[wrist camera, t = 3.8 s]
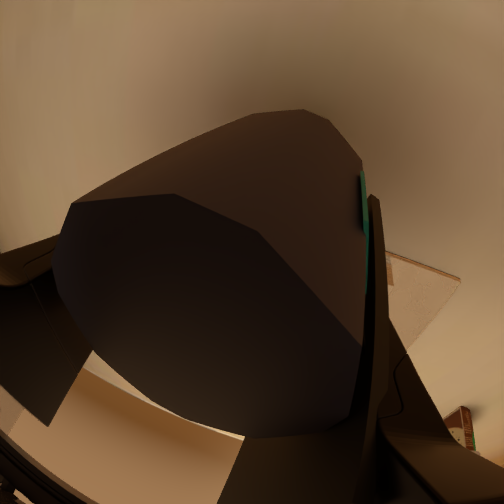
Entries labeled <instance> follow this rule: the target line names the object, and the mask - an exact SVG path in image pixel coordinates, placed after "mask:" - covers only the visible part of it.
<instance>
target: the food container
mask: <svg viewBox="0 0 504 504" xmlns="http://www.w3.org/2000/svg"><path fill="white" fill-rule="evenodd" d="M443 420H444V422H445V424H446V426H447V428H448V430H449V431H450V433H451V434H452V436H453V437H454V438H455V440H456V441H457V442H458V443H460V444H461V445H462V446H464V447H465V448H467V449H469V450H471V451H472V452H474V453H476V454H478V455H480V452H478V451H476V447H475V439H474V432H473V425H472V419H471V413H470V410H469V409H468V408H467V407H463V406H460V407H459V408H457V409H456V410H454V411H453V412H452V413H450V414H449V415H447V416H446V417H444V418H443Z"/></svg>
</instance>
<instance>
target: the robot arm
mask: <svg viewBox="0 0 504 504" xmlns="http://www.w3.org/2000/svg"><path fill="white" fill-rule="evenodd" d="M59 235H60V234H58V235H55V236H52V237H50V238H47V239H44V240H41V241H38V242H35V243H32V244H29V245H26V246H23V247H20V248H17V249H14V250H11V251H8V252H5V253H2V254H0V504H25V503H24V502H22V501H21V500H19V499H18V498H17V497H16V496H15V495H14V494H13V493H14V491H15V489H17V490H18V491H20V492H21V493H22V494H23V495H24V496H26V497H27V498H28V499H29V500H30V501H31V502H32V503H34V504H98V503H97V502H95V501H93V500H91V499H90V498H88V497H87V496H85V495H84V494H82V493H80V492H79V491H77V490H76V489H74V488H73V487H71V486H70V485H68V484H67V483H65V482H64V481H62V480H61V479H60V478H58V477H57V476H56V475H54V474H53V473H52V472H50V471H49V470H47V469H46V468H45V467H44V466H42V465H41V464H40V463H39V462H37V461H36V460H35V459H34V458H32V457H31V456H30V455H29V454H28V453H26V452H25V451H24V450H23V449H22V448H21V447H20V446H18V445H17V444H16V443H15V442H14V441H13V440H12V439H11V438H10V437H9V436H8V434H9V432H10V431H11V429H12V427H13V426H14V424H15V423H16V421H17V419H18V418H19V416H20V415H21V413H22V411H23V410H24V408H25V409H26V410H27V411H28V412H29V413H31V414H32V415H33V416H34V417H35V418H37V419H38V420H39V421H40V422H42V423H43V424H44V425H46V426H47V427H48V426H49V425H50V423H51V421H52V419H53V417H54V416H55V414H56V412H57V410H58V408H59V407H60V405H61V403H62V401H63V400H64V398H65V396H66V394H67V392H68V391H69V389H70V387H71V386H72V384H73V382H74V380H75V379H76V377H77V375H78V373H79V372H80V370H81V368H82V367H83V365H84V363H85V362H86V360H87V359H88V357H89V355H90V354H91V352H92V350H93V349H92V347H91V346H90V344H89V343H88V341H87V340H86V338H85V337H84V335H83V334H82V332H81V331H80V329H79V327H78V326H77V324H76V323H75V321H74V319H73V318H72V316H71V314H70V313H69V311H68V309H67V308H66V306H65V304H64V302H63V301H62V299H61V297H60V295H59V293H58V290H57V286H56V282H55V278H54V274H53V269H52V264H51V259H52V255H53V252H54V249H55V246H56V243H57V240H58V238H59ZM361 353H362V354H363V355H364V354H365V330H364V327H363V341H362V350H361ZM406 353H407V351H406V349H405V347H404V345H403V343H402V341H401V339H400V337H399V335H398V333H397V331H396V329H395V328H394V326H393V324H392V322H391V320H390V318H389V377H388V390H387V392H386V394H385V395H384V397H383V399H382V400H381V402H380V403H379V405H378V409H377V421H376V448H377V459H376V492H375V497H374V502H373V504H504V468H502V467H500V466H499V465H497V464H495V463H493V462H491V461H489V460H487V459H485V458H483V457H482V456H480V455H478V454H476V453H474V452H472V451H471V450H469V449H467V448H465V447H464V446H462V445H461V444H460V443H458V442H457V441H456V440H455V438H454V437H453V436H452V434H451V433H450V431H449V430H448V428H447V426H446V424H445V422H444V420H443V419H442V417H441V415H440V413H439V411H438V410H437V408H436V406H435V404H434V402H433V401H432V399H431V397H430V395H429V394H428V392H427V390H426V388H425V386H424V384H423V383H422V381H421V379H420V377H419V375H418V373H417V371H416V369H415V367H414V365H413V363H412V361H411V359H410V357H409V355H408V354H406Z"/></svg>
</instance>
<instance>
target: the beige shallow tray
mask: <svg viewBox="0 0 504 504" xmlns="http://www.w3.org/2000/svg"><path fill="white" fill-rule="evenodd" d="M385 254H386V266H387V281H388V300H389V318H390V320H391V322H392V324H393V326H394V328H395V329H396V331H397V333H398V335H399V337H400V339H401V341H402V343H403V345H404V347H405V349H406V350H407V349H408V348H409V347H410V346H411V345H412V344H413V342H414V341H415V340H416V339H417V338H418V337H419V336H420V334H421V333H422V332H423V331H424V330H425V328H426V327H427V326H428V325H429V324H430V322H431V321H432V320H433V319H434V317H435V316H436V315H437V314H438V312H439V311H440V310H441V309H442V307H443V306H444V305H445V303H446V302H447V301H448V299H449V298H450V297H451V295H452V294H453V293H454V291H455V290H456V289H457V287H458V286H459V284H460V283H461V281H460V279H459V278H457V277H454V276H452V275H449V274H446V273H444V272H441V271H438V270H436V269H433V268H431V267H428V266H425V265H422V264H420V263H417V262H414V261H412V260H409V259H406V258H403V257H400V256H398V255H395V254H392V253H389V252H386V251H385Z"/></svg>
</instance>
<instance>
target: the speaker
mask: <svg viewBox="0 0 504 504" xmlns="http://www.w3.org/2000/svg"><path fill="white" fill-rule="evenodd" d="M51 264H52V269H53V274H54V278H55V282H56V286H57V290H58V293H59V295H60V297H61V299H62V301H63V302H64V304H65V306H66V308H67V309H68V311H69V313H70V314H71V316H72V318H73V319H74V321H75V323H76V324H77V326H78V327H79V329H80V331H81V332H82V334H83V335H84V337H85V338H86V340H87V341H88V343H89V344H90V346H91V347H92V349H93V350H94V352H95V353H96V354H97V355H98V356H99V357H100V358H101V359H102V360H104V361H105V362H106V363H107V364H108V365H109V366H110V367H111V368H112V369H114V370H115V371H116V372H117V373H118V374H119V375H121V376H122V377H123V378H124V379H125V380H126V381H128V382H129V383H130V384H131V385H132V386H134V387H135V388H136V389H137V390H139V391H140V392H141V393H142V394H144V395H145V396H146V397H148V398H149V399H150V400H151V401H153V402H155V403H157V404H158V405H160V406H162V407H164V408H166V409H167V410H169V411H171V412H173V413H175V414H177V415H179V416H181V417H183V418H185V419H187V420H190V421H193V422H196V423H200V424H203V425H206V426H209V427H213V428H216V429H220V430H223V431H227V432H230V433H234V434H238V435H242V436H245V439H244V441H243V443H242V446H241V448H240V451H239V453H238V456H237V458H236V460H235V463H234V465H233V468H232V470H231V472H230V474H229V477H228V479H227V481H226V484H225V486H224V488H223V490H222V493H221V495H220V497H219V499H218V502H217V504H373V502H374V497H375V492H376V459H377V448H376V421H377V409H378V405H379V403H380V402H381V400H382V399H383V397H384V395H385V394H386V392H387V390H388V377H389V300H388V281H387V266H386V254H385V244H384V234H383V225H382V217H381V210H380V202H379V199H377V198H376V197H375V196H373V195H372V194H370V196H369V197H368V198H367V196H366V186H365V177H364V171H363V166H362V160H361V159H360V158H359V156H358V155H357V154H356V152H355V151H354V150H353V149H352V147H351V146H350V145H349V144H348V142H347V141H346V140H345V139H344V138H343V136H342V135H341V134H340V133H339V132H338V130H337V129H336V128H335V127H334V126H333V125H332V123H331V122H330V121H329V120H327V119H325V118H323V117H321V116H318V115H316V114H314V113H311V112H309V111H306V110H304V109H302V110H288V111H276V112H266V113H256V114H251V115H249V116H246V117H244V118H241V119H238V120H236V121H233V122H231V123H228V124H226V125H223V126H221V127H218V128H216V129H214V130H211V131H209V132H207V133H204V134H202V135H200V136H197V137H195V138H193V139H191V140H188V141H186V142H184V143H182V144H180V145H178V146H175V147H173V148H171V149H169V150H167V151H165V152H163V153H161V154H159V155H157V156H155V157H153V158H151V159H149V160H147V161H145V162H143V163H141V164H139V165H137V166H135V167H133V168H131V169H130V170H128V171H126V172H124V173H122V174H120V175H119V176H117V177H115V178H113V179H111V180H110V181H108V182H106V183H104V184H103V185H101V186H99V187H97V188H96V189H94V190H92V191H91V192H89V193H87V194H86V195H84V196H82V197H81V198H79V199H77V200H76V201H74V202H73V203H71V206H70V208H69V211H68V213H67V216H66V218H65V221H64V224H63V226H62V229H61V232H60V235H59V238H58V240H57V243H56V246H55V249H54V252H53V255H52V259H51ZM363 327H364V330H365V354H364V355H363V354H362V353H361V350H362V341H363Z"/></svg>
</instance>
